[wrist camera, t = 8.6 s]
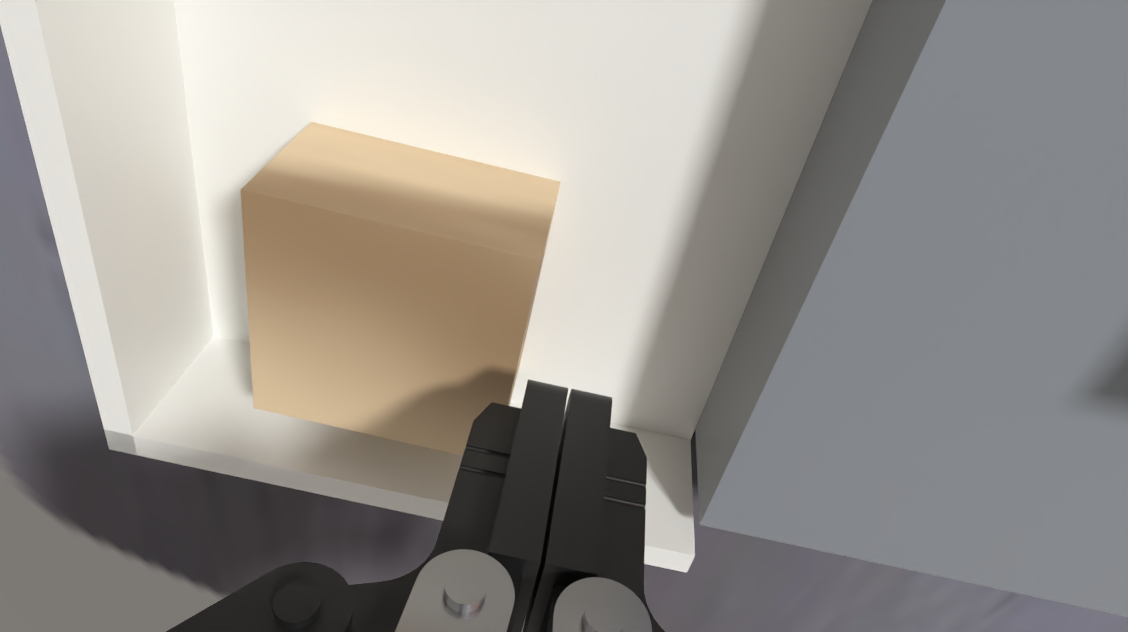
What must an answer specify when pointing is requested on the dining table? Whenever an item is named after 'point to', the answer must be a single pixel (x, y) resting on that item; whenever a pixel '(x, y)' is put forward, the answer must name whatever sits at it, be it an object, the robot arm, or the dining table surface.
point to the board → (947, 311)
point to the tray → (442, 124)
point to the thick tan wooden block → (389, 284)
